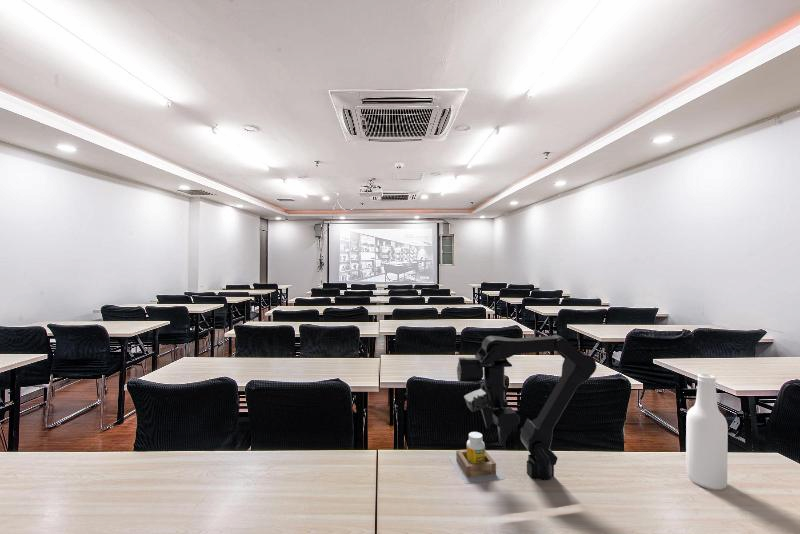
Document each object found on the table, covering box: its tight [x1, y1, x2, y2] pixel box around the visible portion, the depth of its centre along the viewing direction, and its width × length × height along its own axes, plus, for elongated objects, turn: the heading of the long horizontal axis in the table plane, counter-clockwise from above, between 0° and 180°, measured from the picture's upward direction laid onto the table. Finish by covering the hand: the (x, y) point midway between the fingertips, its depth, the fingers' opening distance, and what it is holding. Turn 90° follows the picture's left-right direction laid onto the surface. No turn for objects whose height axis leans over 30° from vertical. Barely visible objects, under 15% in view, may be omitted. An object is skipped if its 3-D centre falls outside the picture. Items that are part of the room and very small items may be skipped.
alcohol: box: [685, 373, 729, 491], centre depth 99 cm, size 9×9×30 cm
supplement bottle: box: [466, 431, 486, 464], centre depth 105 cm, size 5×5×10 cm
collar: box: [455, 448, 497, 477], centre depth 105 cm, size 9×9×3 cm
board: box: [448, 454, 506, 485], centre depth 105 cm, size 12×14×1 cm
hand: (494, 435), depth 101 cm, fingers open, 9 cm apart
